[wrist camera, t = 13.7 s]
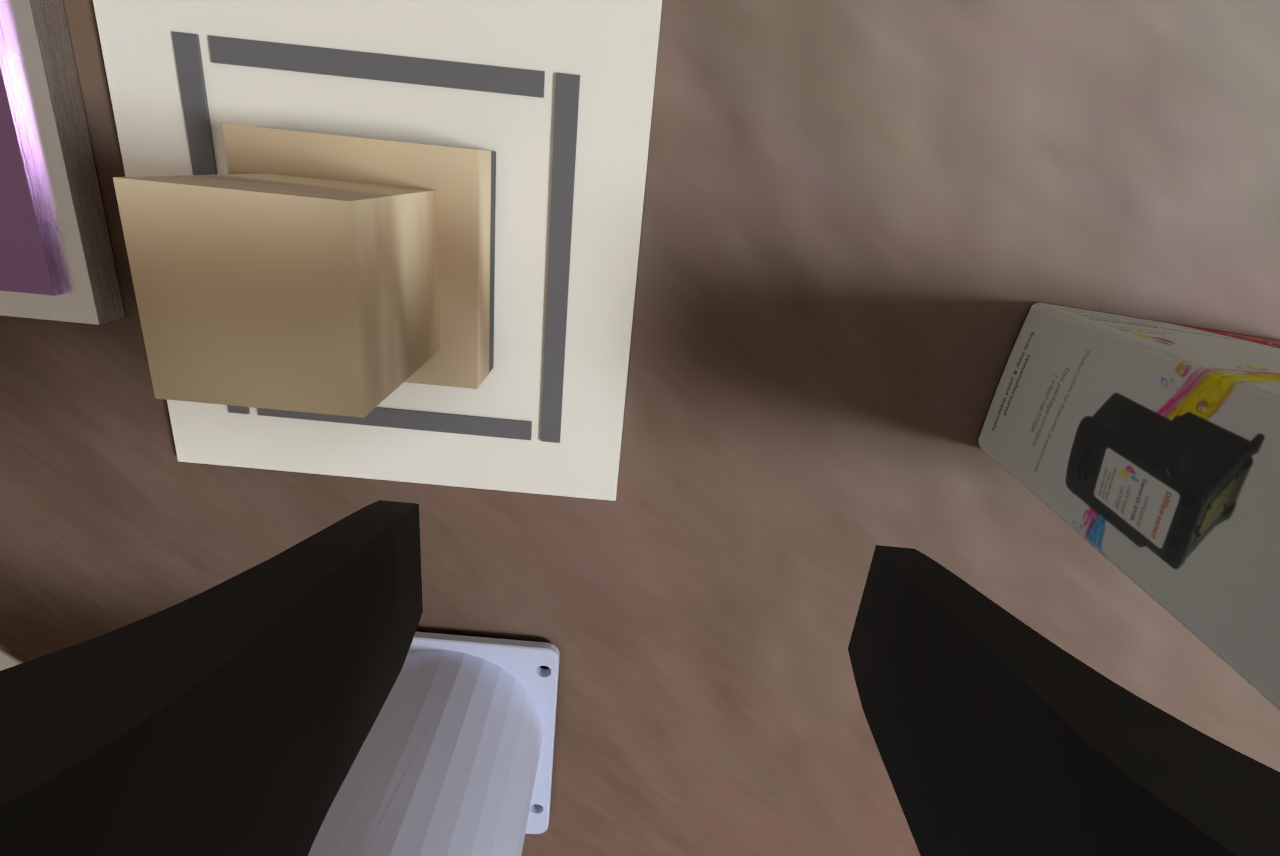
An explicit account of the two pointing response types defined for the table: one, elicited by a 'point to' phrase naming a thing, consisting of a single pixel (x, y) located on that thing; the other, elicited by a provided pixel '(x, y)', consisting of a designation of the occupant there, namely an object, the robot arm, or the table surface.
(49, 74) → the ink pad
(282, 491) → the table surface
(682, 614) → the table surface
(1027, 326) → the ink box
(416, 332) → the wooden stamp
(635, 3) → the paper sheet
